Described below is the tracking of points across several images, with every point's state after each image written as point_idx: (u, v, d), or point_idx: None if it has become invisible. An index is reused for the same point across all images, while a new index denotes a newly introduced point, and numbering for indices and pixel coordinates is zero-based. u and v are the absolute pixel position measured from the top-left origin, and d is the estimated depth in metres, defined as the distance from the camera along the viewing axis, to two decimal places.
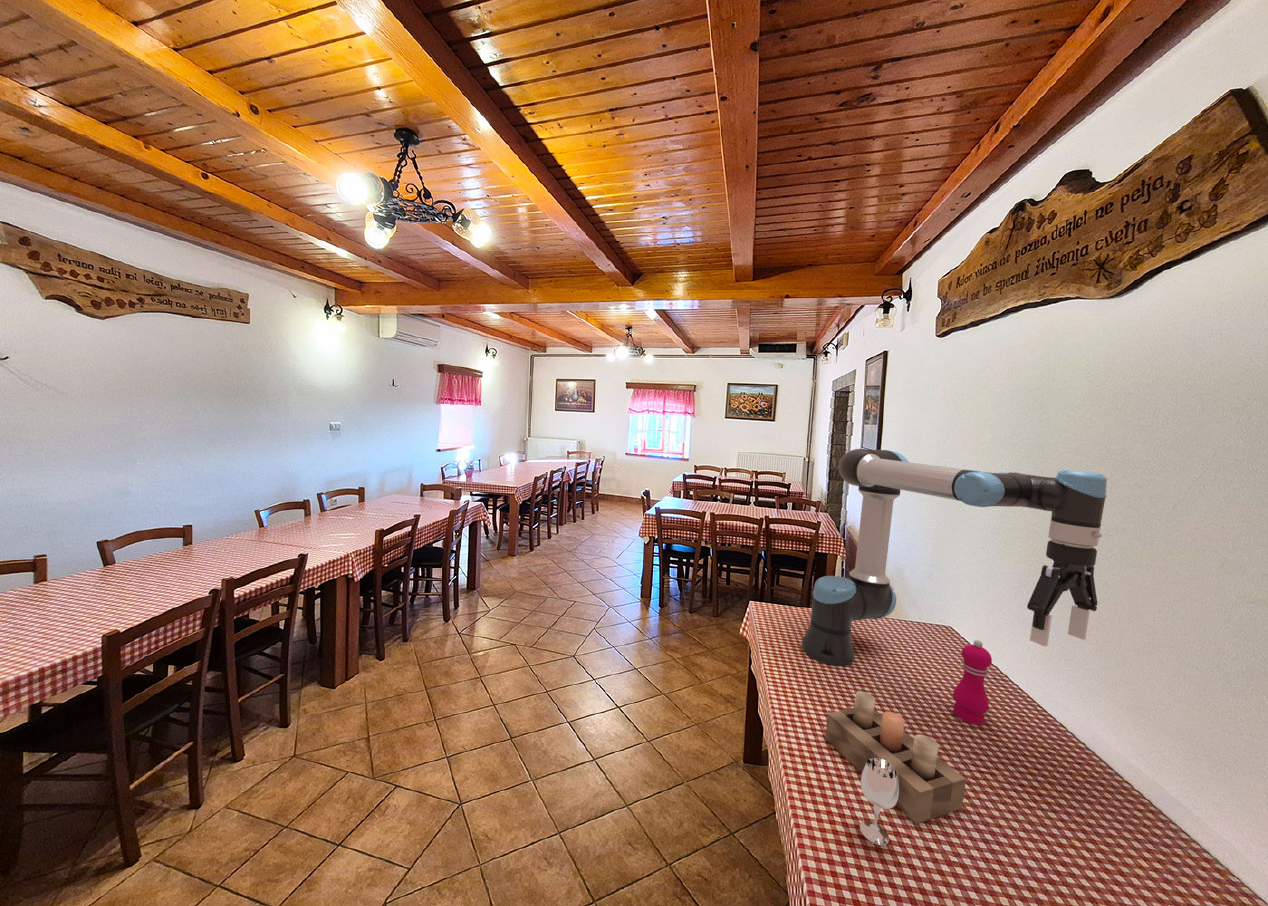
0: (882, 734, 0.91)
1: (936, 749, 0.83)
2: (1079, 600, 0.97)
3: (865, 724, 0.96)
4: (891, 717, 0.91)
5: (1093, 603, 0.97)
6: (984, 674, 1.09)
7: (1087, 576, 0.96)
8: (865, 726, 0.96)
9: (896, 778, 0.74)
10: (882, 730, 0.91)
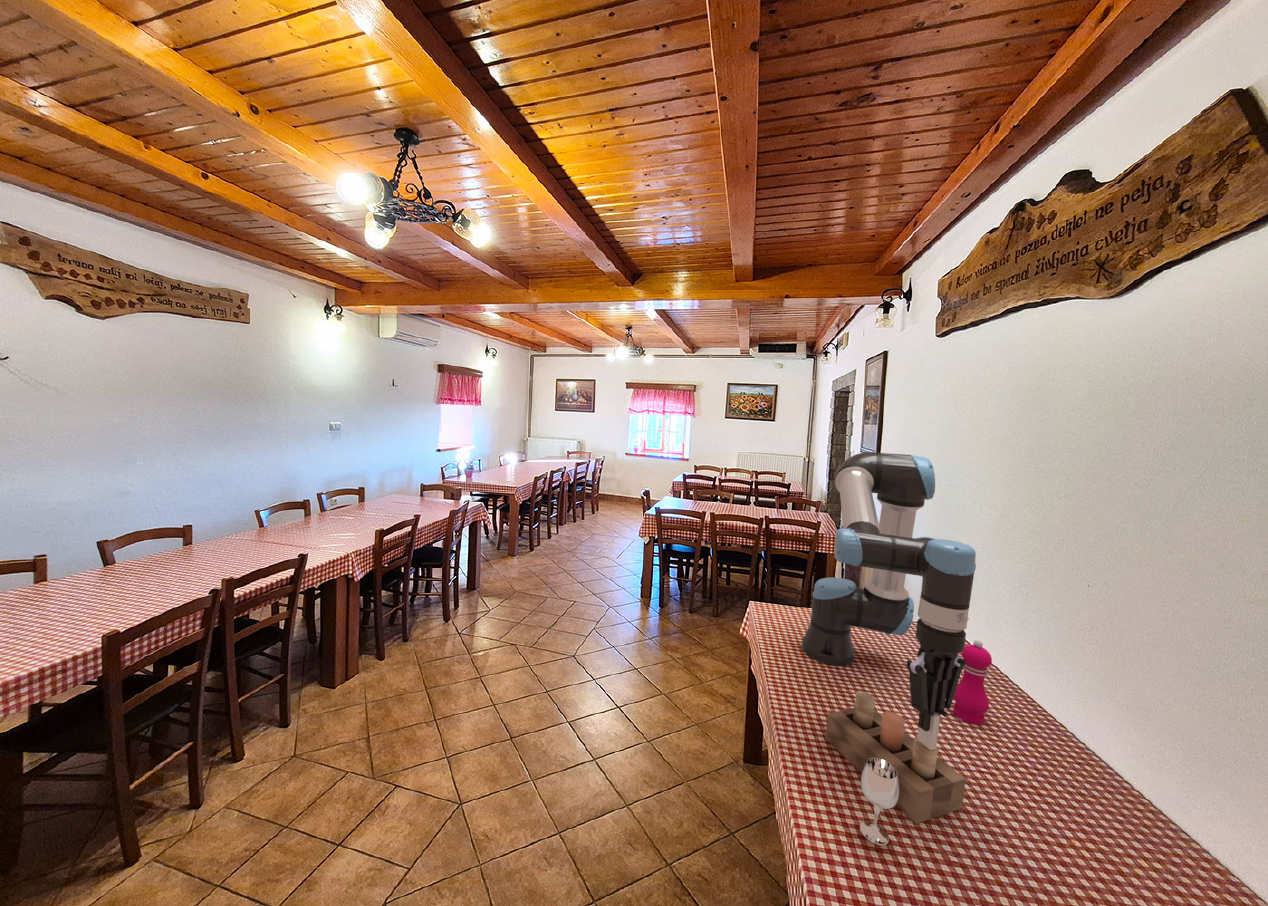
0: (882, 734, 0.91)
1: (936, 753, 0.83)
2: None
3: (865, 724, 0.96)
4: (891, 717, 0.91)
5: (946, 704, 0.84)
6: (984, 674, 1.09)
7: (955, 668, 0.84)
8: (865, 726, 0.96)
9: (896, 778, 0.74)
10: (882, 730, 0.91)
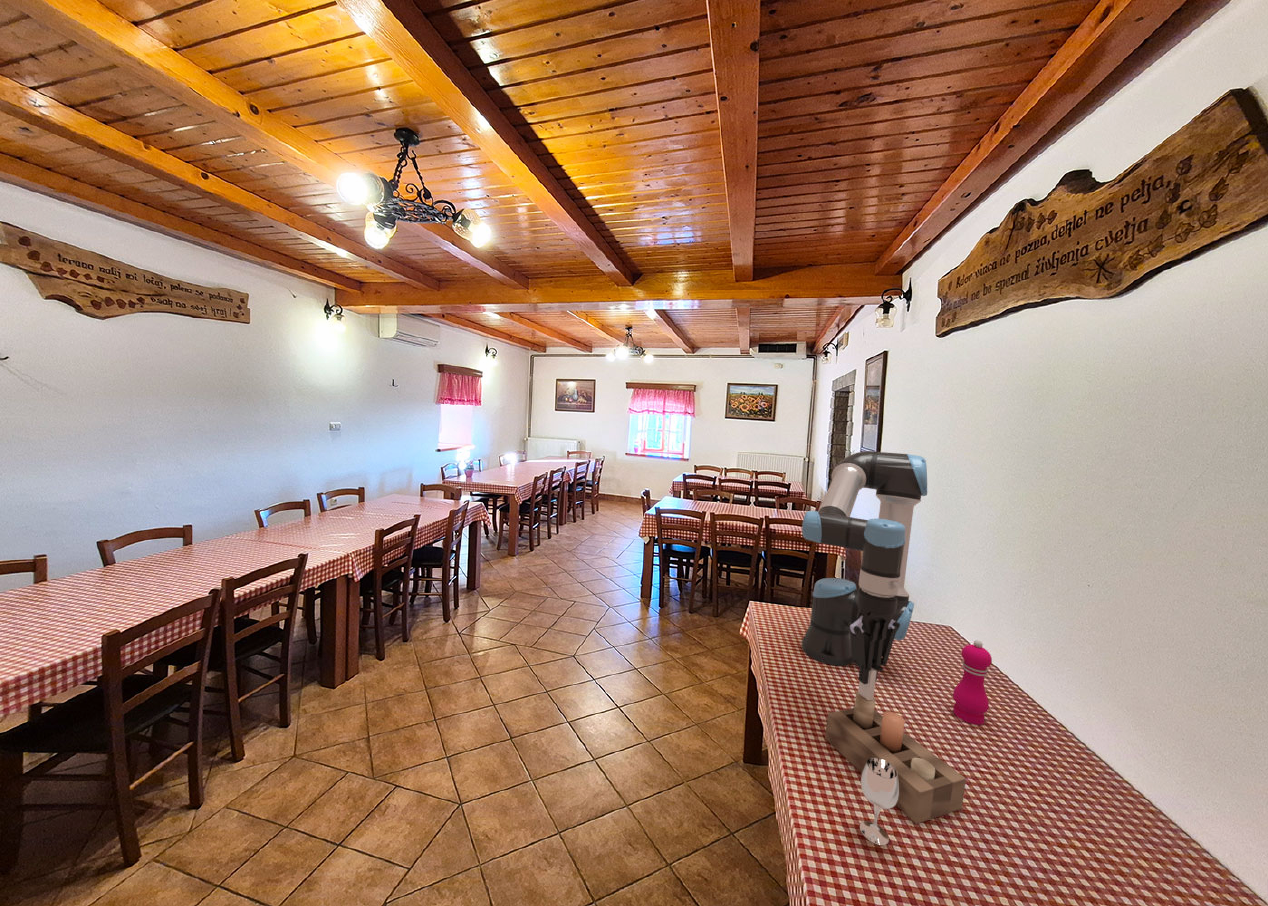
0: (882, 734, 0.91)
1: (933, 773, 0.83)
2: None
3: (865, 724, 0.96)
4: (891, 717, 0.91)
5: (883, 661, 0.97)
6: (984, 674, 1.09)
7: (890, 630, 0.97)
8: (865, 726, 0.96)
9: (896, 778, 0.74)
10: (882, 730, 0.91)
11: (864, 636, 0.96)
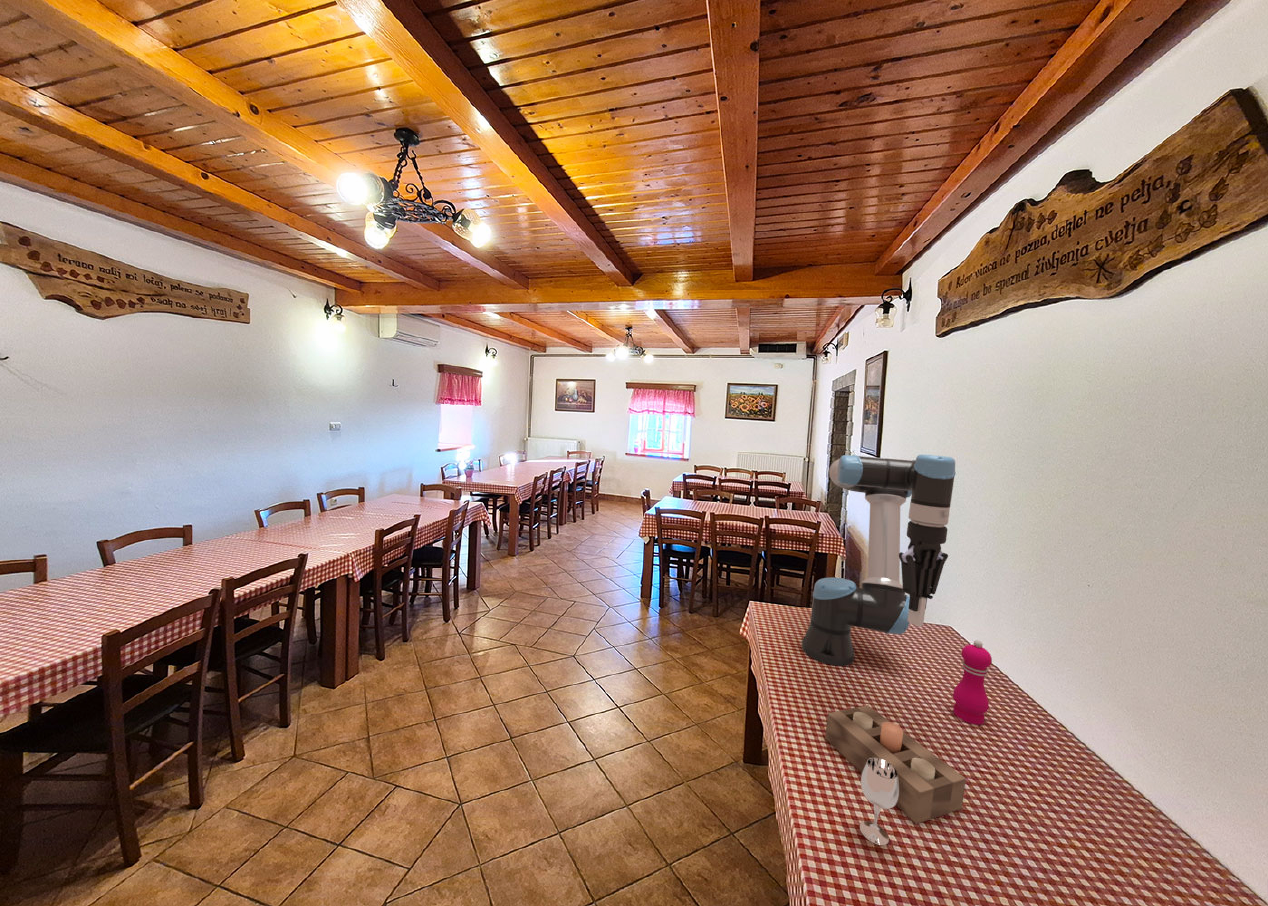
0: (881, 744, 0.91)
1: (933, 773, 0.83)
2: None
3: None
4: (889, 727, 0.91)
5: (932, 590, 1.02)
6: (984, 674, 1.09)
7: (939, 561, 1.02)
8: None
9: (896, 778, 0.74)
10: (881, 740, 0.92)
11: (914, 566, 1.01)
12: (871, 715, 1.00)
